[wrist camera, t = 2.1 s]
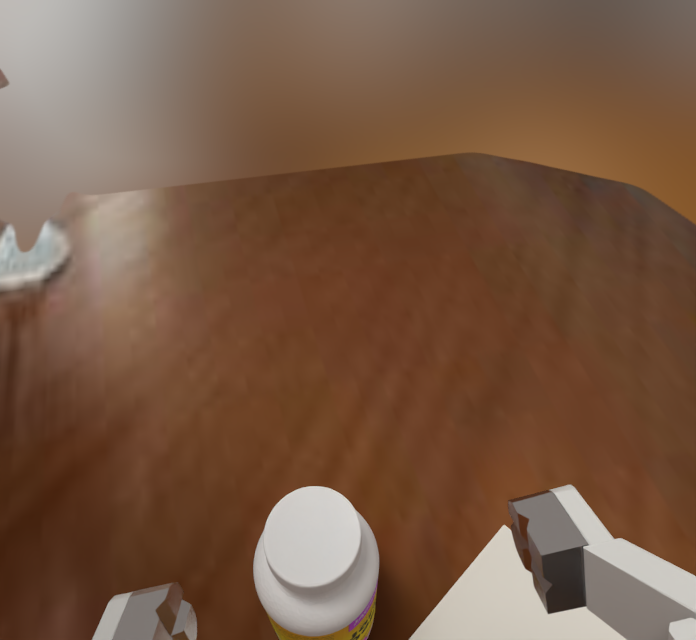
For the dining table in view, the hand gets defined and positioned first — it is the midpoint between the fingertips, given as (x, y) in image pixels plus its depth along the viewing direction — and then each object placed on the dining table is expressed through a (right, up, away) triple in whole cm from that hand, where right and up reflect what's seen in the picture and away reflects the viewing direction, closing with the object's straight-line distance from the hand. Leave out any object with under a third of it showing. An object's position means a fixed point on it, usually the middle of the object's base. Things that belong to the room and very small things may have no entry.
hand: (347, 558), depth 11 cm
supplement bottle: (-2, -14, +20) cm, 24 cm away
